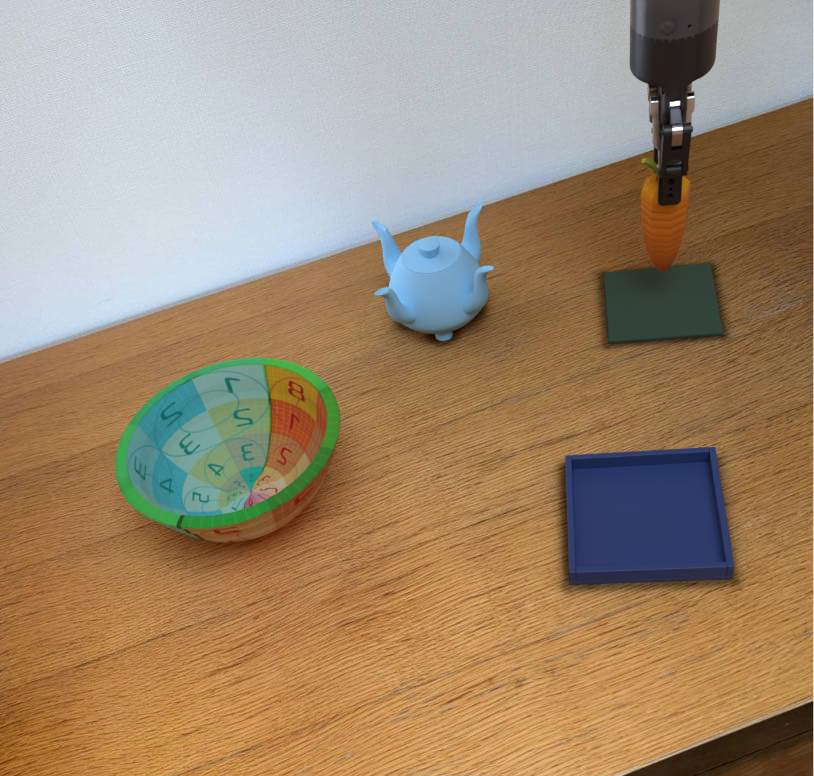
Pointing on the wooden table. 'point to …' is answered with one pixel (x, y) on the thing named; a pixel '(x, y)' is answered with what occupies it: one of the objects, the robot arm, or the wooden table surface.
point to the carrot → (662, 220)
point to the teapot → (435, 280)
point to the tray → (646, 517)
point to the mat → (661, 304)
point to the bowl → (230, 449)
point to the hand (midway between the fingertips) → (666, 186)
